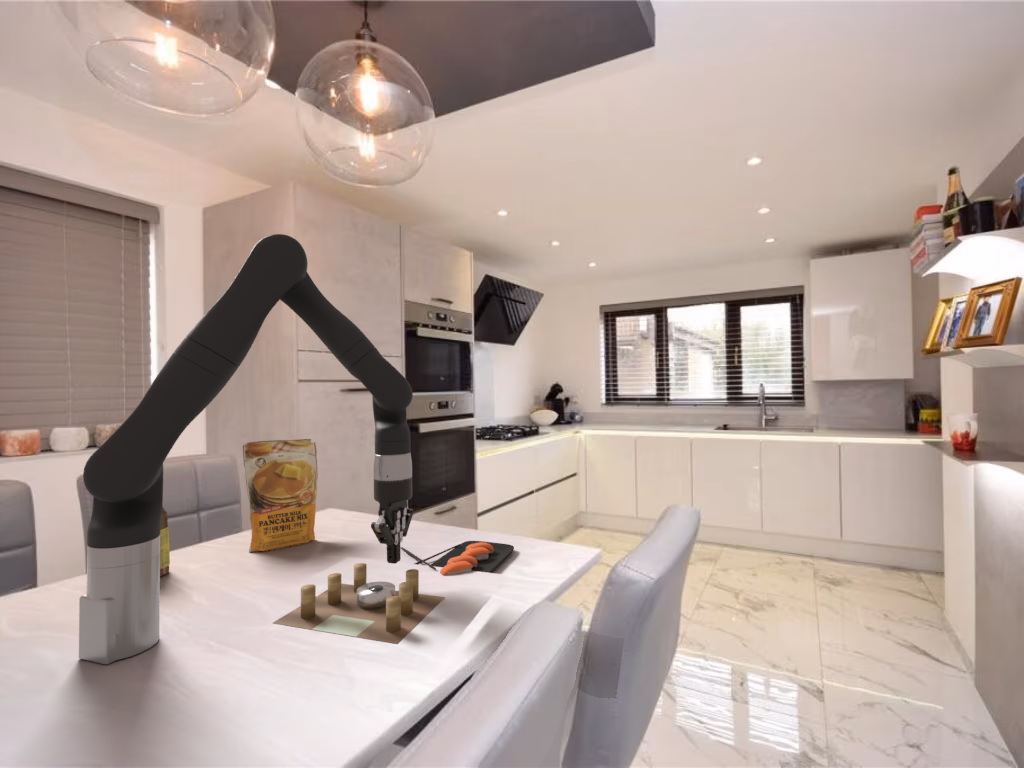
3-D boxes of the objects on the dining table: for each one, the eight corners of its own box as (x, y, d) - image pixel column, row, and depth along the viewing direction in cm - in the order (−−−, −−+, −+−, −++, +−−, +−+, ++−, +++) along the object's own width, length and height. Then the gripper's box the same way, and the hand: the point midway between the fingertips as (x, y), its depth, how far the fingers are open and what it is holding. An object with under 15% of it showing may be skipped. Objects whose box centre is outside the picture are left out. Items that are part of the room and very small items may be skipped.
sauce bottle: (164, 568, 113) (165, 482, 114) (173, 574, 109) (174, 485, 110) (129, 576, 108) (130, 486, 109) (137, 583, 104) (138, 490, 105)
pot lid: (382, 612, 88) (382, 597, 88) (348, 607, 90) (348, 593, 90) (401, 596, 94) (401, 583, 94) (370, 592, 96) (370, 579, 96)
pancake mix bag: (239, 549, 127) (240, 441, 127) (315, 535, 139) (315, 437, 139) (244, 556, 122) (245, 443, 122) (322, 541, 134) (323, 438, 134)
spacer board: (397, 653, 77) (397, 611, 77) (272, 631, 83) (272, 593, 84) (445, 605, 94) (445, 571, 94) (338, 590, 101) (338, 558, 101)
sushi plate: (472, 597, 98) (472, 578, 98) (348, 579, 108) (348, 561, 108) (517, 552, 126) (517, 537, 126) (415, 540, 136) (415, 527, 136)
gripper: (392, 482, 91) (393, 576, 90) (425, 470, 103) (425, 552, 103) (357, 480, 93) (358, 572, 93) (393, 469, 105) (394, 549, 105)
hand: (393, 561), depth 98 cm, fingers closed
